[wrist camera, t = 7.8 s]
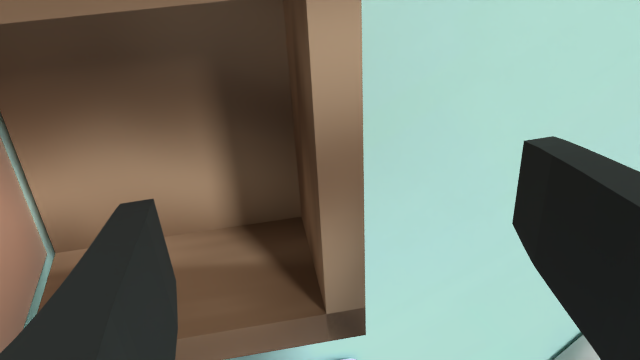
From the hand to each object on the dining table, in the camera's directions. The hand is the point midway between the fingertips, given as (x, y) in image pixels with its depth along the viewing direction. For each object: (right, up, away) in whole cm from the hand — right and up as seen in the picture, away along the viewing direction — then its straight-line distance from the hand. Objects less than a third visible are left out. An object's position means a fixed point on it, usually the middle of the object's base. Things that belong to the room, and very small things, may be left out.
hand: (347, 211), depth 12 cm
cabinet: (-7, +4, +8) cm, 11 cm away
